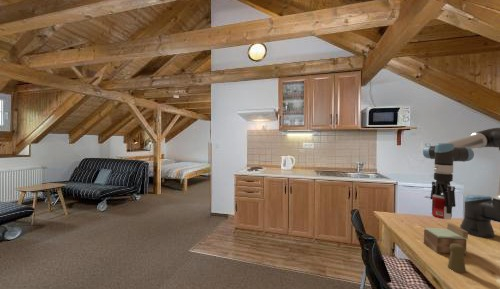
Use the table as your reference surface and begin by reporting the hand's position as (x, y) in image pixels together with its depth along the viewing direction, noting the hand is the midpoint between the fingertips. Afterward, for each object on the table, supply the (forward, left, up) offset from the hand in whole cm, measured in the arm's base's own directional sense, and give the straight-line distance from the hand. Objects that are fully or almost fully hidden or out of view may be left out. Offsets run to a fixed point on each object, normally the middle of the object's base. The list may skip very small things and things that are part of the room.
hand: (441, 216), depth 121 cm
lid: (-2, 0, -9) cm, 9 cm away
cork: (+6, +20, -17) cm, 27 cm away
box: (-2, 0, -17) cm, 17 cm away
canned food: (0, 0, 0) cm, 0 cm away
